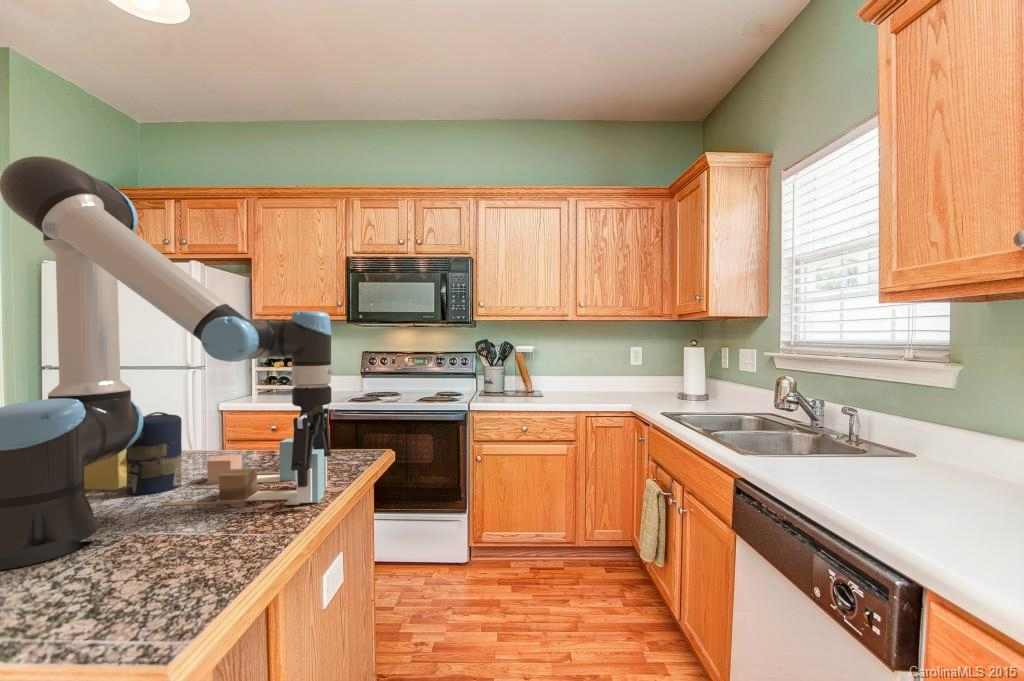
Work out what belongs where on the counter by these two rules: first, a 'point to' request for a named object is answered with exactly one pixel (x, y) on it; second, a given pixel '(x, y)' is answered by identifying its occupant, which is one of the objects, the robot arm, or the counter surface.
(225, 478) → the block walnut
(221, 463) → the block clay
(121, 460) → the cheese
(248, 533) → the counter surface
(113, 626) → the counter surface
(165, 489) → the canister
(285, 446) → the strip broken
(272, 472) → the lane frame
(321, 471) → the multicoloured block
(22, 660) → the counter surface
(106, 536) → the counter surface
